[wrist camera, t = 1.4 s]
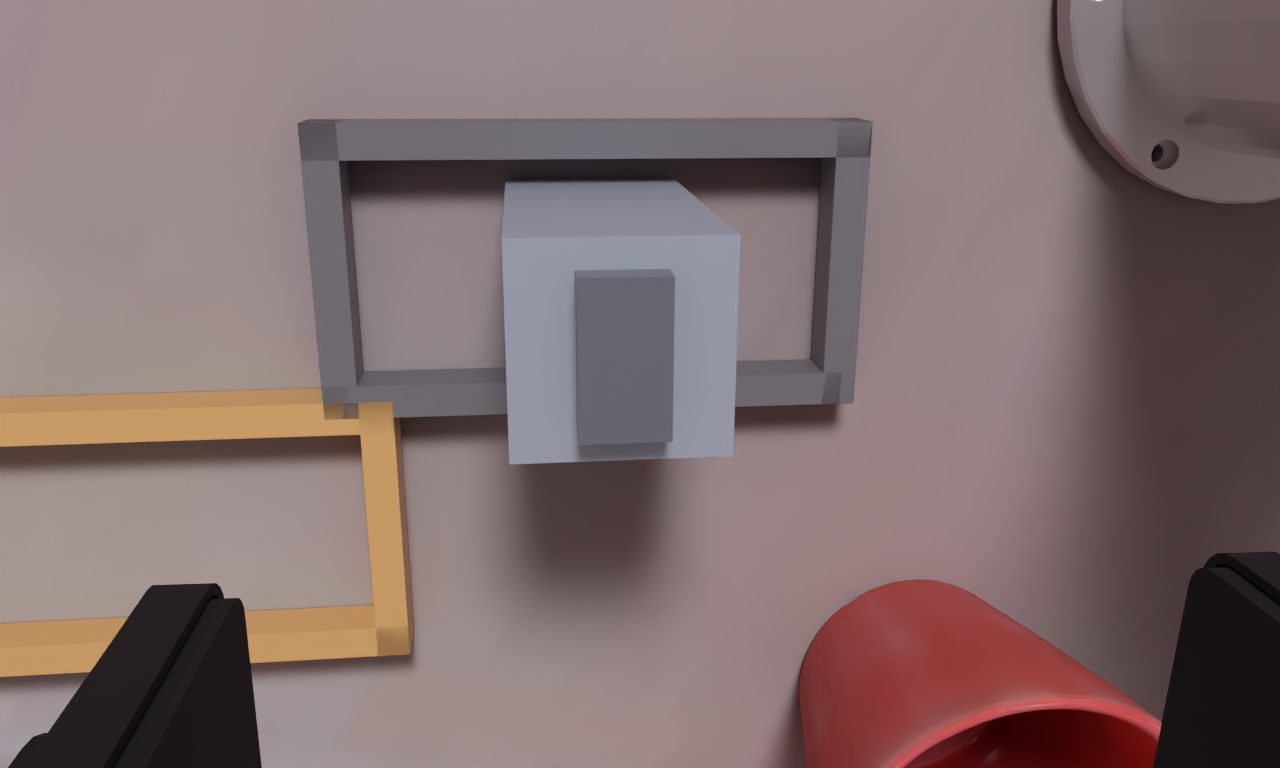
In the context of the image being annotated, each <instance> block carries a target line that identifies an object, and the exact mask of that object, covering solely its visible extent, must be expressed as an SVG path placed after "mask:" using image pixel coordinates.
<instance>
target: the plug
mask: <svg viewBox="0 0 1280 768" xmlns="http://www.w3.org/2000/svg"><path fill="white" fill-rule="evenodd" d="M501 239H502V268H503V297H504V326H505V355H506V383H507V412H508V441H509V464H535V463H563V462H590V461H617V460H644V459H671V458H698V457H725V456H733V451H734V420H735V390H736V360H737V330H738V300H739V270H740V240H741V235H740V234H739V233H738V232H737V231H736V230H734V229H733V228H732V227H731V226H730V225H728V224H727V223H726V222H725V221H724V220H722V219H721V218H720V217H719V216H718V215H717V214H715V213H714V212H713V211H712V210H711V209H709V208H708V207H707V206H706V205H705V204H703V203H702V202H701V201H700V200H699V199H697V198H696V197H695V196H694V195H693V194H691V193H690V192H689V191H688V190H687V189H685V188H684V187H683V186H682V185H681V184H679V183H678V182H677V181H676V180H675V179H578V180H505V194H504V209H503V223H502V238H501Z"/></svg>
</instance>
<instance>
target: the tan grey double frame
mask: <svg viewBox="0 0 1280 768" xmlns="http://www.w3.org/2000/svg"><path fill="white" fill-rule="evenodd" d="M298 132H299V143H300V154H301V165H302V176H303V187H304V198H305V209H306V221H307V232H308V243H309V254H310V265H311V276H312V287H313V299H314V310H315V321H316V332H317V343H318V354H319V365H320V376H321V389H286V390H251V391H216V392H181V393H146V394H112V395H77V396H42V397H7V398H0V447H6V446H36V445H66V444H96V443H126V442H156V441H186V440H216V439H246V438H276V437H306V436H336V435H360V436H361V449H362V461H363V474H364V487H365V499H366V512H367V524H368V537H369V550H370V562H371V575H372V587H373V600H374V605H365V606H345V607H326V608H306V609H286V610H266V611H246V612H245V619H246V628H247V637H248V647H249V656H250V663H263V662H281V661H299V660H317V659H335V658H354V657H372V656H390V655H408V654H410V651H411V645H412V640H413V634H414V620H413V605H412V590H411V575H410V560H409V545H408V531H407V516H406V501H405V486H404V471H403V456H402V441H401V426H400V417H431V416H463V415H494V414H508V412H507V383H506V368H480V369H443V370H406V371H370V372H363V359H362V346H361V333H360V320H359V307H358V294H357V281H356V268H355V255H354V242H353V229H352V216H351V203H350V190H349V177H348V164H347V161H359V160H513V159H667V158H821V157H822V164H821V182H820V200H819V219H818V237H817V255H816V273H815V291H814V309H813V327H812V345H811V360H774V361H738V362H736V390H735V407H746V406H778V405H809V404H841V403H853V398H854V383H855V369H856V354H857V340H858V325H859V311H860V296H861V281H862V267H863V252H864V238H865V223H866V209H867V194H868V180H869V165H870V150H871V136H872V121H867V120H863V119H858V118H743V119H338V120H305V121H303V122H300V123H298ZM127 619H128V617H126V618H106V619H86V620H66V621H46V622H26V623H6V624H0V677H9V676H27V675H45V674H63V673H81V672H91V670H92V669H93V667H94V666H95V665H96V663H97V662H98V660H99V659H100V657H101V656H102V654H103V653H104V652H105V650H106V649H107V647H108V646H109V644H110V643H111V642H112V640H113V639H114V637H115V636H116V634H117V633H118V631H119V630H120V629H121V627H122V626H123V624H124V623H125V621H126V620H127Z"/></svg>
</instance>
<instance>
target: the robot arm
mask: <svg viewBox="0 0 1280 768" xmlns="http://www.w3.org/2000/svg"><path fill="white" fill-rule="evenodd" d="M1057 36H1058V45H1059V50H1060V55H1061V60H1062V65H1063V70H1064V75H1065V80H1066V82H1067V85H1068V87H1069V90H1070V92H1071V95H1072V97H1073V100H1074V102H1075V104H1076V107H1077V109H1078V112H1079V114H1080V116H1081V118H1082V119H1083V121H1084V122H1085V123H1086V125H1087V126H1088V128H1089V129H1090V131H1091V132H1092V134H1093V135H1094V137H1095V138H1096V140H1097V141H1098V143H1099V144H1100V146H1101V147H1103V148H1104V149H1105V150H1106V151H1107V152H1108V153H1109V154H1110V155H1111V156H1112V157H1113V158H1114V159H1115V160H1116V161H1117V162H1118V163H1119V164H1120V165H1122V166H1123V167H1124V168H1125V169H1126V170H1127V171H1129V172H1131V173H1132V174H1134V175H1136V176H1138V177H1139V178H1141V179H1143V180H1144V181H1146V182H1148V183H1149V184H1151V185H1153V186H1154V187H1157V188H1160V189H1163V190H1166V191H1169V192H1172V193H1175V194H1178V195H1182V196H1185V197H1188V198H1193V199H1199V200H1204V201H1210V202H1215V203H1220V204H1244V203H1262V202H1266V201H1271V200H1276V199H1280V0H1057ZM1154 147H1155V153H1154V155H1153V157H1152V158H1151V154H1152V151H1153V149H1154ZM8 768H262V767H261V758H260V749H259V740H258V730H257V721H256V712H255V702H254V693H253V684H252V675H251V665H250V656H249V647H248V637H247V628H246V619H245V612H244V606H243V604H242V601H241V600H240V599H239V598H228V599H224V596H223V593H222V590H221V588H220V586H219V585H218V584H217V583H213V584H179V585H153V586H151V587H150V588H149V589H148V590H147V591H146V593H145V594H144V596H143V597H142V598H141V600H140V601H139V603H138V604H137V606H136V607H135V608H134V610H133V611H132V613H131V614H130V616H129V617H128V619H127V620H126V621H125V623H124V624H123V626H122V627H121V629H120V630H119V631H118V633H117V634H116V636H115V637H114V639H113V640H112V642H111V643H110V644H109V646H108V647H107V649H106V650H105V652H104V653H103V654H102V656H101V657H100V659H99V660H98V662H97V663H96V665H95V666H94V667H93V669H92V670H91V672H90V673H89V675H88V676H87V677H86V679H85V680H84V682H83V683H82V685H81V686H80V688H79V689H78V690H77V692H76V693H75V695H74V696H73V698H72V699H71V700H70V702H69V703H68V705H67V706H66V708H65V709H64V711H63V712H62V713H61V715H60V716H59V718H58V719H57V721H56V722H55V723H54V725H53V726H52V728H51V729H50V731H49V732H48V733H43V734H40V735H37V736H35V737H33V738H32V739H31V740H30V741H29V742H28V743H27V744H26V745H25V746H24V747H23V748H22V749H21V751H20V752H19V753H18V755H17V756H16V758H15V759H14V760H13V762H12V763H11V764H10V766H9V767H8ZM1153 768H1280V554H1278V553H1276V552H1249V553H1217V554H1215V555H1214V556H1212V557H1210V558H1209V560H1208V561H1207V562H1206V564H1205V565H1204V568H1200V569H1198V570H1197V571H1195V572H1194V574H1193V575H1192V577H1191V579H1190V582H1189V586H1188V591H1187V596H1186V601H1185V607H1184V612H1183V617H1182V622H1181V627H1180V632H1179V637H1178V642H1177V647H1176V652H1175V658H1174V663H1173V668H1172V673H1171V678H1170V683H1169V688H1168V693H1167V698H1166V704H1165V709H1164V714H1163V719H1162V724H1161V729H1160V734H1159V739H1158V744H1157V749H1156V755H1155V760H1154V765H1153Z"/></svg>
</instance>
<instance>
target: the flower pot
mask: <svg viewBox="0 0 1280 768" xmlns="http://www.w3.org/2000/svg"><path fill="white" fill-rule="evenodd" d="M799 697H800V708H801V719H802V729H803V740H804V750H805V761H806V768H1153V765H1154V760H1155V755H1156V749H1157V744H1158V739H1159V734H1160V729H1161V724H1162V722H1161V721H1160V720H1159V719H1157V718H1156V717H1155V716H1153V715H1152V714H1151V713H1149V712H1148V711H1147V710H1145V709H1144V708H1143V707H1141V706H1140V705H1138V704H1137V703H1136V702H1134V701H1133V700H1132V699H1130V698H1129V697H1127V696H1126V695H1125V694H1123V693H1122V692H1121V691H1119V690H1118V689H1116V688H1115V687H1113V686H1112V685H1110V684H1109V683H1107V682H1106V681H1104V680H1103V679H1101V678H1100V677H1099V676H1097V675H1096V674H1094V673H1093V672H1091V671H1090V670H1088V669H1087V668H1085V667H1084V666H1082V665H1081V664H1079V663H1078V662H1077V661H1075V660H1074V659H1072V658H1071V657H1069V656H1068V655H1066V654H1065V653H1064V652H1062V651H1061V650H1059V649H1058V648H1056V647H1055V646H1053V645H1052V644H1050V643H1049V642H1047V641H1046V640H1044V639H1043V638H1041V637H1040V636H1038V635H1037V634H1035V633H1034V632H1032V631H1031V630H1029V629H1027V628H1026V627H1024V626H1023V625H1021V624H1019V623H1018V622H1016V621H1015V620H1013V619H1011V618H1010V617H1008V616H1007V615H1005V614H1004V613H1002V612H1000V611H999V610H997V609H996V608H994V607H992V606H991V605H989V604H988V603H986V602H985V601H983V600H981V599H980V598H978V597H977V596H975V595H974V594H972V593H970V592H968V591H966V590H964V589H962V588H959V587H957V586H954V585H951V584H947V583H943V582H938V581H933V580H908V581H900V582H895V583H890V584H886V585H883V586H880V587H877V588H875V589H872V590H870V591H867V592H866V593H864V594H862V595H860V596H859V597H858V598H857V599H855V600H854V601H853V602H851V603H849V604H848V605H846V606H844V607H842V608H841V609H840V610H839V611H837V612H836V613H835V614H834V615H833V616H832V617H831V618H830V619H829V620H828V621H827V622H826V623H825V624H824V625H823V627H822V628H821V629H820V630H819V632H818V633H817V635H816V636H815V638H814V640H813V641H812V643H811V645H810V647H809V649H808V651H807V653H806V656H805V659H804V662H803V665H802V669H801V675H800V685H799Z"/></svg>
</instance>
